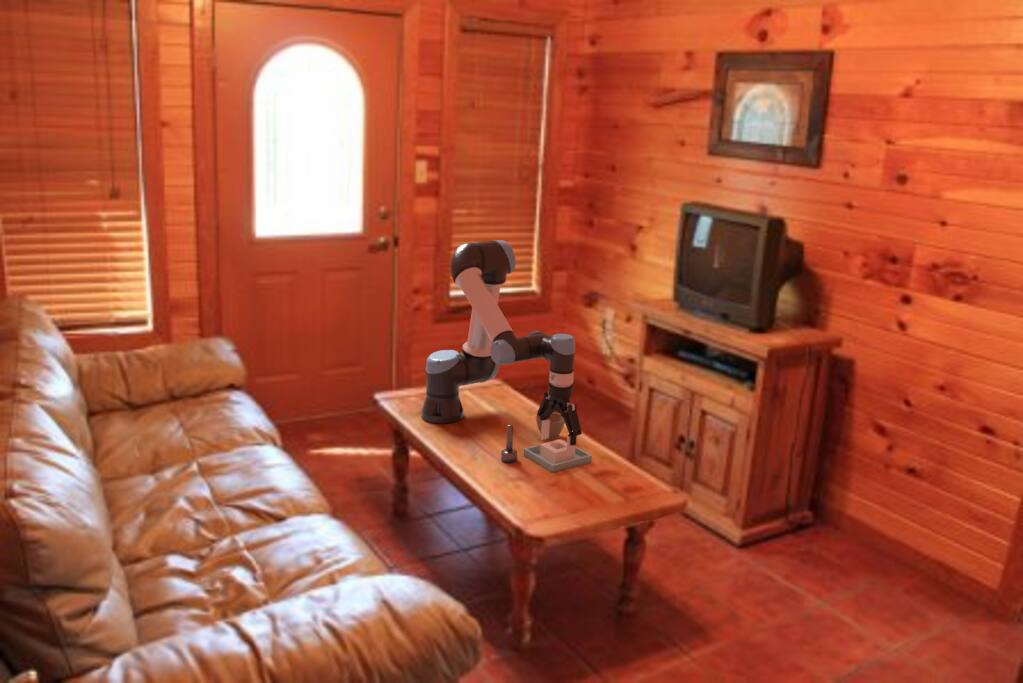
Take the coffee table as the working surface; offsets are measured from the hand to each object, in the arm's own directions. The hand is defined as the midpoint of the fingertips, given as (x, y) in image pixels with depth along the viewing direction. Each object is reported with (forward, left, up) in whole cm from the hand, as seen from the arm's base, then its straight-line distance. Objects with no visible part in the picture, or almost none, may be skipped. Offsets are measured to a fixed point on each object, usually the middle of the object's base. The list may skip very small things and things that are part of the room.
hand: (557, 446), depth 278 cm
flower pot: (-16, +9, -4) cm, 19 cm away
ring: (0, 0, -4) cm, 4 cm away
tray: (0, 0, -4) cm, 4 cm away
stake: (-7, -14, -4) cm, 16 cm away
